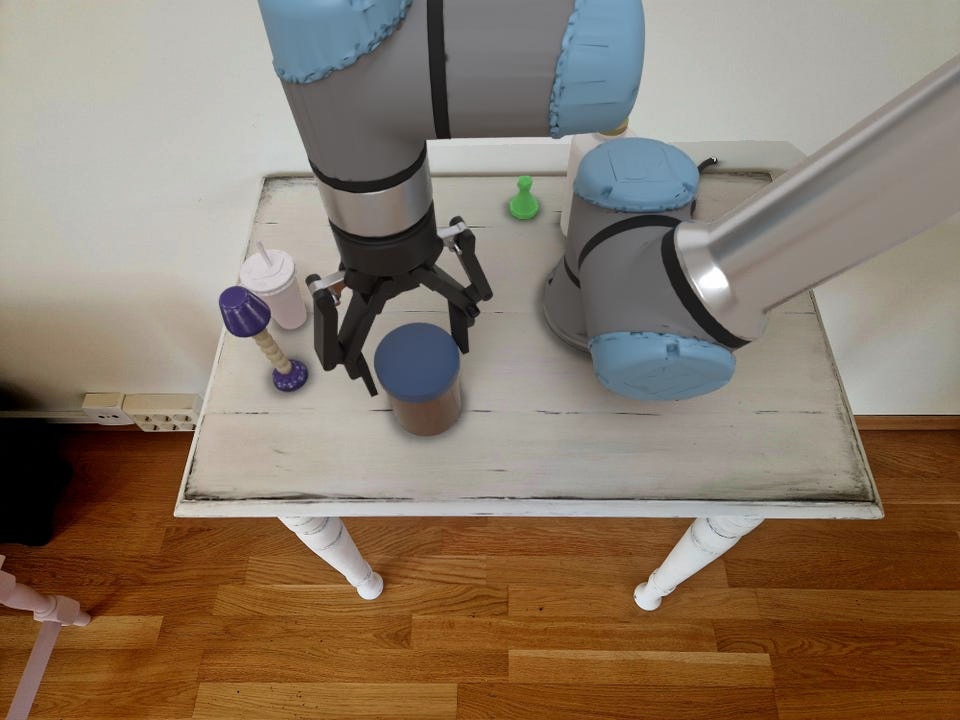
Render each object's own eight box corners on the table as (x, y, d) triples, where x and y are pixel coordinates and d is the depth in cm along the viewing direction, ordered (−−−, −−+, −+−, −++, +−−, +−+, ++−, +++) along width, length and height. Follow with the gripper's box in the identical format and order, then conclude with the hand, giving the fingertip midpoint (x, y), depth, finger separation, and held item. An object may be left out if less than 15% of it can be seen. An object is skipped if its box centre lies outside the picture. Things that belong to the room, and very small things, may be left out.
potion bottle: (603, 202, 83) (628, 89, 68) (628, 242, 79) (660, 132, 64) (550, 216, 82) (563, 104, 67) (573, 258, 78) (591, 149, 63)
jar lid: (438, 319, 62) (436, 309, 61) (475, 379, 58) (474, 371, 57) (364, 352, 60) (360, 343, 59) (397, 417, 56) (394, 410, 55)
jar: (443, 365, 70) (435, 316, 61) (473, 417, 66) (469, 373, 57) (383, 393, 68) (365, 347, 59) (410, 448, 65) (397, 407, 56)
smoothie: (326, 318, 74) (293, 244, 62) (284, 346, 72) (242, 276, 60) (299, 289, 77) (262, 213, 65) (258, 316, 74) (212, 242, 62)
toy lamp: (297, 399, 68) (243, 319, 54) (262, 390, 69) (200, 309, 54) (313, 366, 70) (267, 280, 56) (279, 357, 71) (224, 271, 57)
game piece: (544, 213, 83) (547, 180, 78) (518, 223, 82) (519, 191, 77) (528, 194, 85) (531, 161, 80) (503, 204, 84) (504, 172, 79)
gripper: (493, 121, 44) (492, 297, 63) (208, 224, 39) (301, 381, 58) (544, 180, 41) (527, 347, 60) (238, 302, 36) (327, 441, 55)
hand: (416, 364), depth 59 cm, fingers open, 10 cm apart
